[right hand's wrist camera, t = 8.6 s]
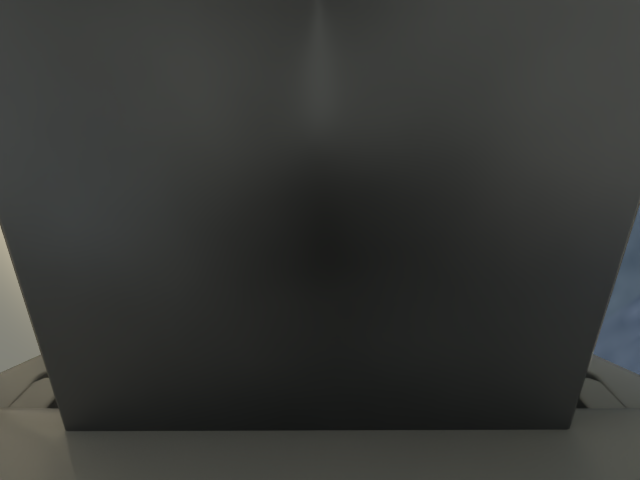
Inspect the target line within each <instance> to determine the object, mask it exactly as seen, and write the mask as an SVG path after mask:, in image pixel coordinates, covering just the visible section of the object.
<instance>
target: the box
mask: <svg viewBox="0 0 640 480" xmlns="http://www.w3.org/2000/svg"><path fill="white" fill-rule="evenodd" d="M639 205H640V0H0V226H1V229H2V232H3V235H4V238H5V242H6V245H7V248H8V251H9V254H10V257H11V261H12V264H13V267H14V270H15V273H16V276H17V279H18V283H19V286H20V289H21V292H22V295H23V298H24V302H25V305H26V308H27V311H28V314H29V317H30V321H31V324H32V327H33V330H34V333H35V336H36V340H37V343H38V346H39V349H40V352H41V355H42V359H43V362H44V365H45V368H46V371H47V374H48V377H49V381H50V384H51V387H52V390H53V393H54V396H55V400H56V403H57V406H58V409H59V412H60V415H61V419H62V422H63V425H64V428H65V430H66V431H297V430H567V429H570V425H571V422H572V419H573V416H574V413H575V409H576V406H577V403H578V400H579V397H580V393H581V390H582V387H583V384H584V381H585V377H586V374H587V371H588V368H589V365H590V361H591V358H592V355H593V352H594V349H595V345H596V342H597V339H598V336H599V333H600V329H601V326H602V323H603V320H604V317H605V313H606V310H607V307H608V304H609V301H610V297H611V294H612V291H613V288H614V285H615V281H616V278H617V275H618V272H619V269H620V266H621V262H622V259H623V256H624V253H625V250H626V246H627V243H628V240H629V237H630V234H631V230H632V227H633V224H634V221H635V218H636V214H637V211H638V208H639Z"/></svg>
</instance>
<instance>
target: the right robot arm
mask: <svg viewBox="0 0 640 480" xmlns="http://www.w3.org/2000/svg"><path fill="white" fill-rule="evenodd" d="M0 480H640V375H638V374H636V373H633V372H631V371H629V370H627V369H625V368H622V367H620V366H618V365H616V364H613V363H611V362H609V361H607V360H605V359H602V358H600V357H598V356H596V355H594V354H593V355H592V358H591V361H590V365H589V368H588V371H587V374H586V377H585V381H584V384H583V387H582V390H581V393H580V397H579V400H578V403H577V406H576V409H575V413H574V416H573V419H572V422H571V425H570V429H567V430H297V431H66V430H65V428H64V425H63V422H62V419H61V415H60V412H59V409H58V406H57V403H56V400H55V396H54V393H53V390H52V387H51V384H50V381H49V377H48V374H47V371H46V368H45V365H44V362H43V359H42V355H39V356H37V357H35V358H32V359H30V360H28V361H26V362H23V363H21V364H19V365H17V366H14V367H12V368H10V369H8V370H6V371H3V372H1V373H0Z"/></svg>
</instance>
